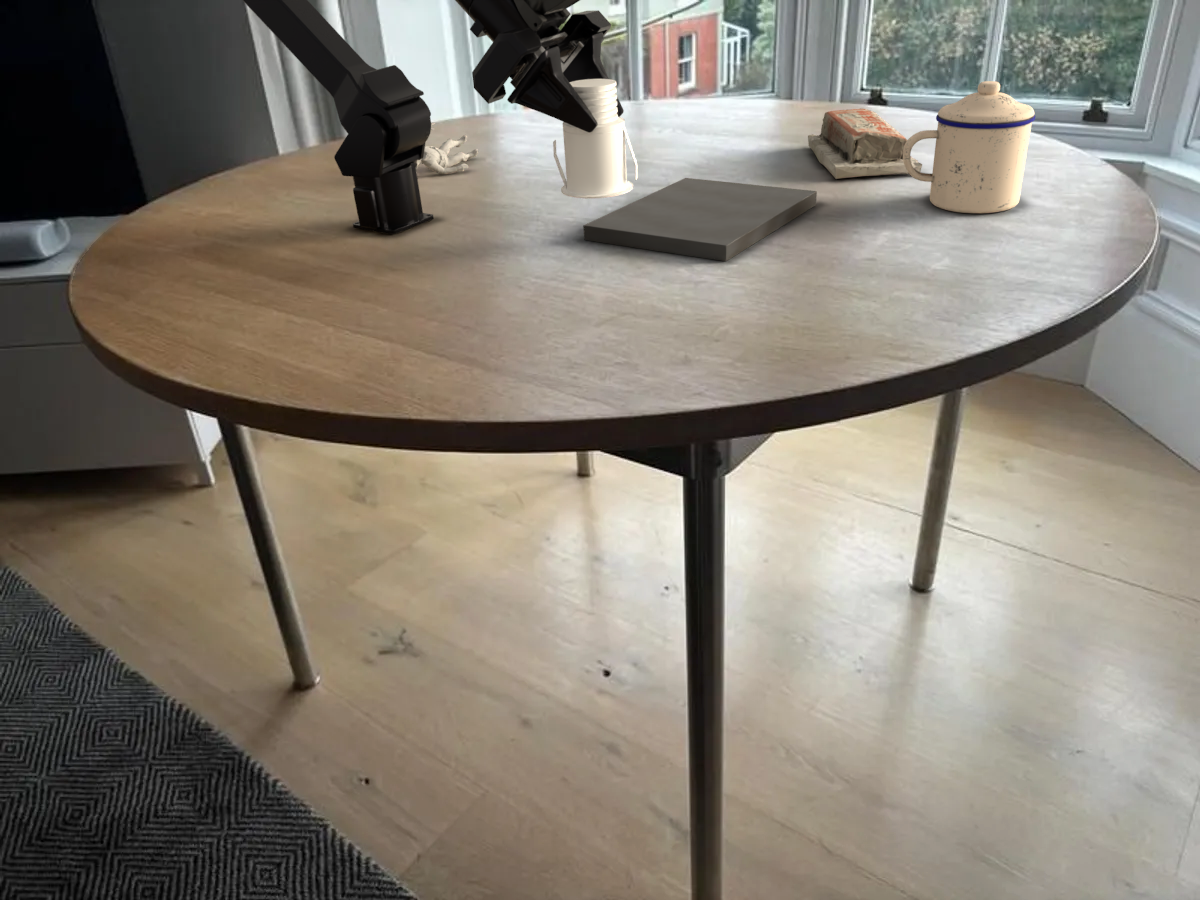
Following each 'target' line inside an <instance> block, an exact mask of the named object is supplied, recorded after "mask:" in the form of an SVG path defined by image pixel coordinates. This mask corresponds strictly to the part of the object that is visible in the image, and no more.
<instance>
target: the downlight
mask: <svg viewBox="0 0 1200 900" xmlns="http://www.w3.org/2000/svg"><path fill="white" fill-rule="evenodd" d="M569 83H570V84H571V85H572V87H573V88H574V90H575V91H576V92H577V94H578V95H579V96H580V98H581V99H582V101H583V102H584V103H585V105H586V106H587V107H588V109H589V110H590V112H591V113H592V115H593V117H594V118H595V120H596V121H597V123H598V125H597V127H596V128H595V129H594V130H593V131H592V132H590V133H589V132H586V131H584V130H582V129H579V128H577V127H575V126H572V125H570V124H568V123H565V122H563V121H562V134H563V148H564V149H563V150H564V161H565V173H564V170H563V167H562V164H561V162H560V159H559V157H558V153H557V140H556V139H554V140H553V141H552V147H553V149H552V151H553V159H554V161H555V163H556V166H557V168H558V171H559V174H560V177H561V179H562V182H563V185H562V186H561V188H560V192H561V194H562V195H564V196H567V197H570V198H576V199H584V200H585V199H586V200H587V199H588V200H589V199H593V200H594V199H605V198H607V199H608V198H613V197H617V196H622V195H624V194H627V193H630V192H631V191H632V190H633V189H634V183H633V182H632V181H629V180H628V179H627V178H628V177H627V153H626V152H627V151H626V143H627V145H628V148H629V152H630V155H631V157H632V160H633V164H634V166H635V169H634V170H635V172H634V174H635V177H634V179H635V181H637V180H638V174H639V173H638V172H639V170H638V169H639V168H638V165H639V164H638V161H637V158H636V155H635V152H634V149H633V145H632V142H631V140H630V137H629V134H628V131H627V128H626V126H625V125H626V123H625V118H623V117H621V116H620V117H618V114H617V112H618V110H617V107H616V106H617V101H616V99H617V97H618V94H617V91H618V90H617V80H615V79H611V78H609V79H585V80H578V81H572V82H569ZM615 93H616V94H615Z"/></svg>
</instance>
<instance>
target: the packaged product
mask: <svg viewBox="0 0 1200 900" xmlns="http://www.w3.org/2000/svg"><path fill="white" fill-rule="evenodd" d="M907 140H908V139H907V138H906V137H905V135H903V134H901V132H900V131H898V130H897V129H896V128H894V127H893V126H892V125H891V124H889V123H888V122H887V121H886V120H885V119H884V118H882V117H881V116H879V114H878V113H877V112H876V111H873V110H871V109H866V108H852V109H838V110H829V111H826V112H825V113H824V115H823V118H822V123H821V129H820V134H818V135H817V134H814V133H811V134H809V135H807V142H808V143H807V144H808V147H809V149H810V150H812V152H813V154H814V155H815V157H816V158H817V161H818V162H819V163H820V164H821V165H823V166H824V167H825V168H826V169H827V171H828V172H829V173H830V175H832V176H833V178H835V179H836V180H837V179H847V178H857V177H858V178H859V177H876V176H895V175H910V174H909V173H908V171H907V169H906V168H905V165H904V162H903V149H904V146H905V143H906V142H907ZM910 159H911V164H912V166H913V168H914V169H915V170H916V171H918V172H921V173H922V168H923V164H922V163H921V162H919V160H918V159H916V158H914V157H913V156H912V155H910Z"/></svg>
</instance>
